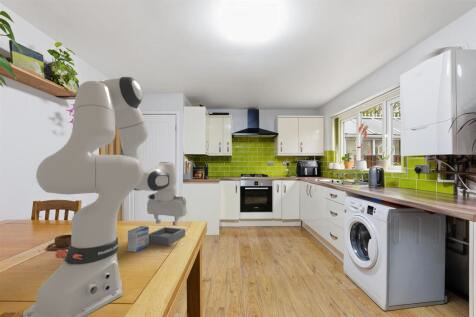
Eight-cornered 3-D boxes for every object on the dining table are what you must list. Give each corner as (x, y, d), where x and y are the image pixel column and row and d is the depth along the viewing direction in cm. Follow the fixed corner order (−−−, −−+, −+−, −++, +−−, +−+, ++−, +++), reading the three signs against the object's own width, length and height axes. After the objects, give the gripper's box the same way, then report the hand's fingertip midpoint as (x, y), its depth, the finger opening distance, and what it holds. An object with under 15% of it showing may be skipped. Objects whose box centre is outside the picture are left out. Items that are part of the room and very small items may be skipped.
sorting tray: (185, 235, 118) (185, 228, 118) (168, 245, 105) (168, 237, 105) (164, 233, 122) (164, 226, 122) (146, 242, 109) (146, 234, 109)
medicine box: (136, 252, 97) (136, 231, 97) (127, 251, 99) (127, 230, 99) (149, 245, 105) (149, 226, 105) (140, 244, 106) (140, 225, 106)
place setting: (90, 240, 113) (90, 228, 113) (82, 256, 95) (82, 241, 95) (44, 246, 106) (44, 233, 106) (27, 264, 87) (27, 248, 88)
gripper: (189, 195, 113) (189, 224, 113) (153, 193, 120) (153, 221, 120) (182, 197, 107) (182, 228, 107) (145, 195, 114) (144, 224, 114)
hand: (166, 224), depth 114 cm, fingers open, 8 cm apart
